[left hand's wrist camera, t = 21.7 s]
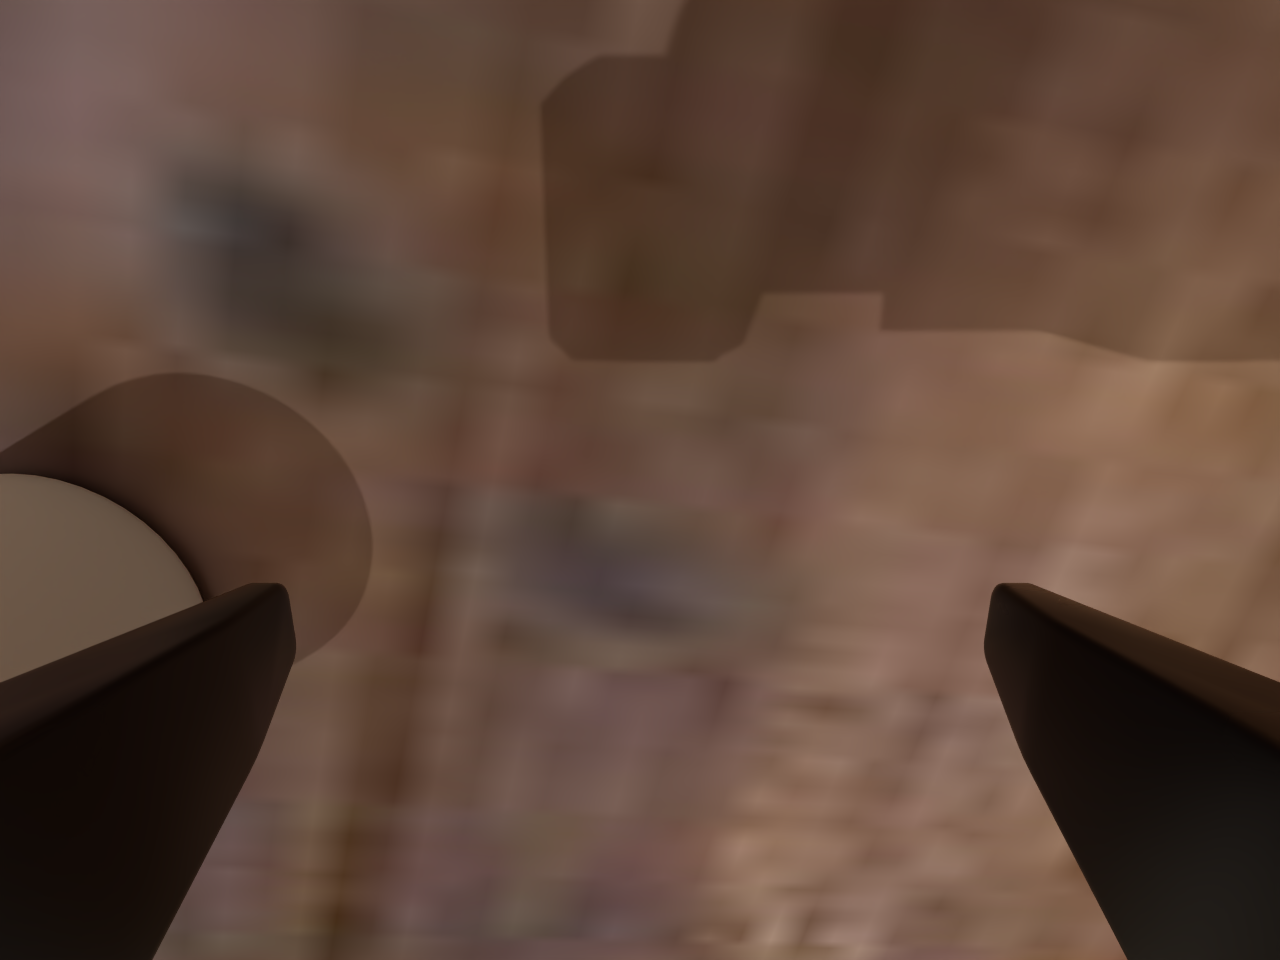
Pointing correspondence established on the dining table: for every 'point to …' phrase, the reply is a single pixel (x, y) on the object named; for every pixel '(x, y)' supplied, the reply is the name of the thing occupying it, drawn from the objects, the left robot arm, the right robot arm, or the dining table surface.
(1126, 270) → the dining table surface
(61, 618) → the mug
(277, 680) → the left robot arm
